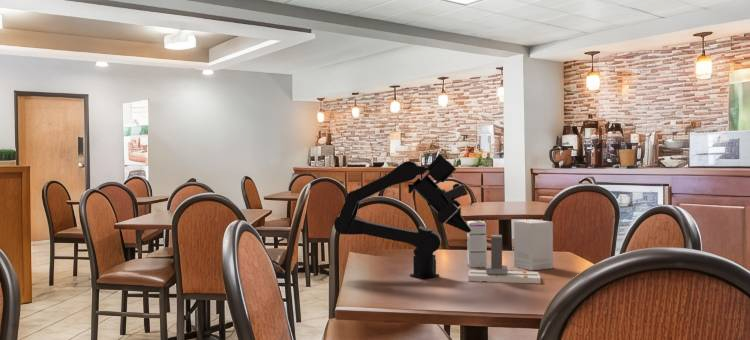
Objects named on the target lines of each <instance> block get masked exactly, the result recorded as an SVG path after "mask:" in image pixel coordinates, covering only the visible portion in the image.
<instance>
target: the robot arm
mask: <svg viewBox="0 0 750 340" xmlns="http://www.w3.org/2000/svg"><path fill="white" fill-rule="evenodd" d="M456 171H457V168H456V167H455V166H454V165H453V164H452V163H451V162H450V161H449V160H447V159H446V158H445V157H444V156H443V155H442V154H441V153H439V154H437V156H436V157H435V159H434V160H433V161H432V162H431V163H430V164H429V165H427V166H426V165H423V166H422V165H418V164H417V163H416V162H414V161H412V160H407V161H405V162H402V163H400V164H399V165H398V166H397V167H395V168H394V169H393V170H391V171H390V172H388V173H387V174H386V175H383V176H382V177H379V178H377V179H376V180H374V181H371V182H370V183H367V184H365V185H363V186H361V187H359V188H356V189H355V190H352V191H349V192H348V194H346V197H345V198H346V199H345V202H344V204H343V206H342V208H341V210H340V213H339V216H337V217H336V218H335V220H334V222H333V227H334V230H335V231H336V232H337V233H338V234H340V235H351V236H352V235H365V236H370V237H376V238H382V239H386V240H389V241H390V240H391V241H396V242H400V243H404V244H409V245H411V246H413V247H414V249H413V261H412V263H413V268H412V269H413V271H412V272H413V273H409V276H410V277H414V278H419V279H424V280H426V279H430V278H431V279H432V278H437V277H440V274H439V273H437V260H436V254H434V252H436V251H438V250H439V248H440V247H441V244H442V237H441V235H440V233H439V232H438V231H436V230H433V229H434V228H433V227H425V226H422V225H419V227H418V228H417V230H416V229H415V230H413V229H412V230H411V229H407V228H402V227H397V226H392V225H386V224H382V223H377V222H372V221H368V220H366V219H364V218H361V217H360V216H357V214H358V210H359V206H360V203H361V201H363V200H365V199H367V198H369V197H372V196H373V195H375V194H377V193H380V192H382V191H384V190H386V189H387V188H390V187H392V186H394V185H399V184H402V183H406V182H410V181H412V180H415V181H414V182H412V184H411V183H408V184H407V186H408V190H407V191H408V192H407V193H408V194H413V192H415V191H416V193H417V194H418V195H419V196H420V197H422V198H423V200H425V202H426V203H427V205H428V206H429V207H431V208H432V209H433V210H434V211H435V212H436V214H437V221H439V223H441V225H443V224H446V225H449V226H451V227H454V228H456V229H459V230H461V231H463V232H465V233H466V234H467V233H469V232H470V231H471V229H470V228H469V226H468V224H467V221H466V220H465V217H463V215H462V206H461V205H462V204H461V203H460V201H458V199H459V198H461V197H465V196H467V195H468V193H469V192H468V190H467V188H466V186H465V184H464V183H463V184H462V183H461V184H460V183H459V182H457V183H455V184H453V185H452V189H451V188H450V189H449V190H448V191H446V190H445V189H443V188H441V187H439V185H438V184H439V183H440V182H442V183H445V182H446V181H447V180H448V179H449V178H450V176H452V174H454V173H455V172H456ZM427 172H428V173H427ZM426 173H427V174H426ZM425 174H426V175H425ZM420 175H421V176H422V175H425V176H424V177H423V178H421V177H419V176H420ZM434 180H435V181H434ZM437 183H438V184H437Z"/></svg>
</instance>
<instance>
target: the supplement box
mask: <svg viewBox="0 0 750 340" xmlns="http://www.w3.org/2000/svg"><path fill="white" fill-rule="evenodd" d="M513 266H514V267H516V268H520V269H525V270H528V271H538V270H549V269H553V268H554V222H553V221H549V220H541V219H522V220H521V219H520V220H513Z"/></svg>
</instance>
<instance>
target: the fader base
mask: <svg viewBox="0 0 750 340" xmlns="http://www.w3.org/2000/svg"><path fill="white" fill-rule="evenodd" d="M467 275H468V276H467V281H468V282H482V281H487V282H488V283H512V284H513V283H515V284H516V283H517V284H541V283H542V282H541V280H542V279H541V276H540V273H539V271H526V270H521V271H520V270H519V271H514V270H512V271H511V270H507V274H493V273H486V269H485V270H484V269H483V270H481V269H468V274H467ZM487 282H486V283H487Z"/></svg>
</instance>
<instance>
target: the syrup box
mask: <svg viewBox="0 0 750 340" xmlns="http://www.w3.org/2000/svg"><path fill="white" fill-rule="evenodd" d="M466 223H467V224H468V226H469V228H470V229H471V231H470V232H469V233H467V232H466V243H467V244H466V245H467V246H466V248H467V250H466V251H467V252H466V253H467V256H466V261H467V266H468V267H469V268H476V267H480V268H486V265H488V263H487V262H488V260H487V259H488V257H487V256H488V254H487V251H488V250H487V249H488V248H487V247H488V246H487V245H488V244H487V223H486V222H485V221H484V220H468V221H466Z"/></svg>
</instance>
